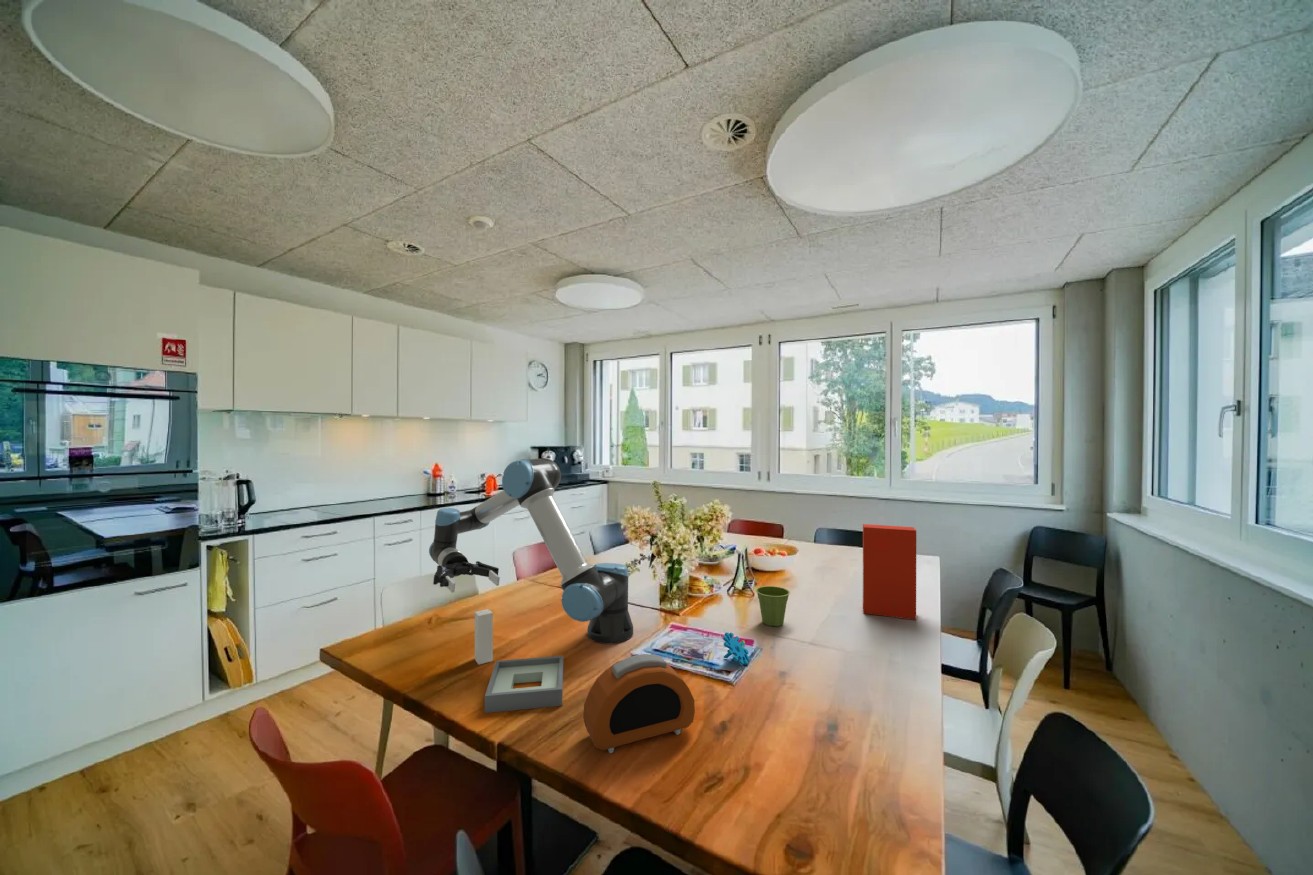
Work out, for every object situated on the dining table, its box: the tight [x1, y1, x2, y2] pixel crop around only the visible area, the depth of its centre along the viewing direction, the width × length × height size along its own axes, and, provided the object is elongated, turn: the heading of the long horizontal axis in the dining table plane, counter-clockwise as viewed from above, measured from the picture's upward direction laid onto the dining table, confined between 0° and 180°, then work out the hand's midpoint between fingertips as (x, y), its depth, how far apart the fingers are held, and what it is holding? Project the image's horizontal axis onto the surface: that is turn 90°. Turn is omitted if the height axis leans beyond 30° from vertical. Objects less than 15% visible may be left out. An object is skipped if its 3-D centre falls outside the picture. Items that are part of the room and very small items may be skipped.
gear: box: [722, 632, 751, 666], centre depth 141 cm, size 11×6×10 cm
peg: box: [474, 608, 494, 665], centre depth 140 cm, size 4×4×14 cm
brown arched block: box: [582, 653, 696, 754], centre depth 106 cm, size 23×9×17 cm, turn 114°
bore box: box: [484, 655, 564, 714], centre depth 124 cm, size 18×18×4 cm
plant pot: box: [755, 585, 791, 627], centre depth 169 cm, size 12×12×11 cm
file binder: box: [862, 523, 917, 621], centre depth 178 cm, size 8×17×32 cm, turn 69°
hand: (476, 584), depth 146 cm, fingers open, 13 cm apart
